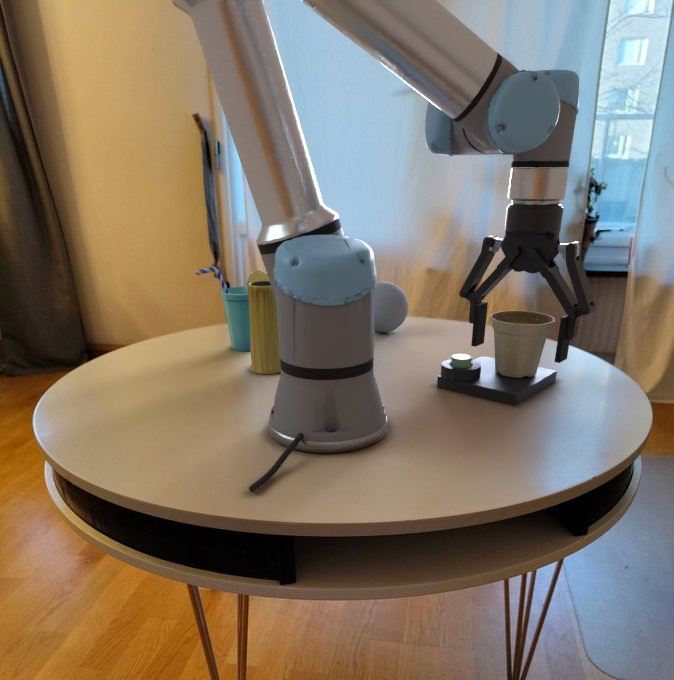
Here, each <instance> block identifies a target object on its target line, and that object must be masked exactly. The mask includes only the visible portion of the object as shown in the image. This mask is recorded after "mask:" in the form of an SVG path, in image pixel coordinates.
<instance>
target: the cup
mask: <svg viewBox="0 0 674 680" xmlns="http://www.w3.org/2000/svg"><path fill="white" fill-rule="evenodd" d="M209 273H214V274H215V276H216V277H217V279H218V282H219V284H220V286H221V288H222V290H220V297H221V298H222V300H223V307H224V310H225V311H224V312H225V317H226V323H227V329H228V332H229V338H230V344H231V348H232V349H233V350H234V351H237V352H249V351H250V318H249V301H248V283H250V282H254V281H263V280H269V277H268V274H267V272H265V271H264V270H261V269H260V270H257V271H255V272H253V273H251V274H249V276H248V279H247V282H246V286H235V287H227V285H226V281H225V280H224V277H223V276H222V273H221V271H220V270H219V269H218V268H216V267H215V266H209V267H205V268H200V269H196V270H195V274H196V275H197V276H199V275H204V274H209ZM250 352H251V351H250Z"/></svg>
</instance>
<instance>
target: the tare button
mask: <svg viewBox="0 0 674 680" xmlns="http://www.w3.org/2000/svg"><path fill="white" fill-rule="evenodd" d="M451 359H452V360H451V366H452V367H457V368H468V367H471V362H472V360H473V357H472V355H469V354H467V353H455V354H452V355H451Z"/></svg>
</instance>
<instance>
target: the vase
mask: <svg viewBox="0 0 674 680" xmlns="http://www.w3.org/2000/svg"><path fill="white" fill-rule="evenodd" d="M248 301H249V318H250V358H251V359H250V361H251V364H250V370H251V371H252V372H253V373H255V374H260V375H275V374H281V366H280V349H279V331H278V314H277V305H276V300H275V296H274V293H273V291H272V288H271V283H270V280H263V281H254V282H250V283H248Z"/></svg>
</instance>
